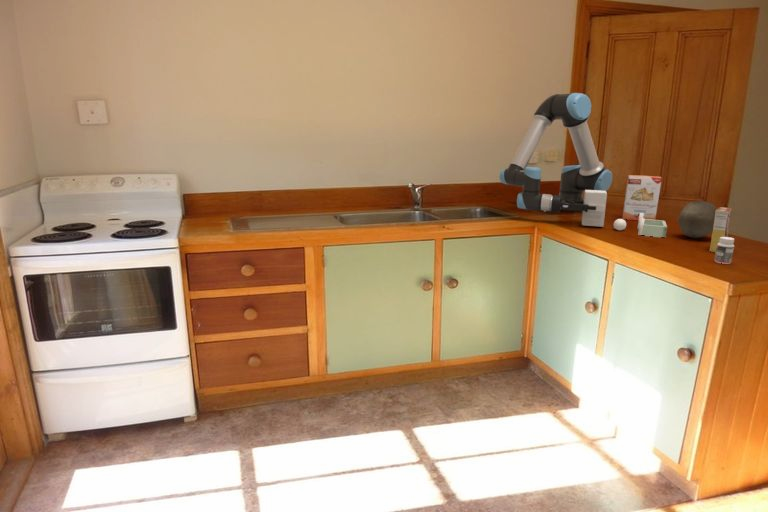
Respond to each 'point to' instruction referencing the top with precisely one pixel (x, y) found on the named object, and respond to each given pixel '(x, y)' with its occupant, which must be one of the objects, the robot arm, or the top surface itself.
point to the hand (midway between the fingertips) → (605, 206)
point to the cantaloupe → (697, 219)
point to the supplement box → (594, 216)
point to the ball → (620, 224)
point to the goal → (651, 227)
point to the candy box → (720, 226)
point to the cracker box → (641, 197)
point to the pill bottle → (724, 250)
